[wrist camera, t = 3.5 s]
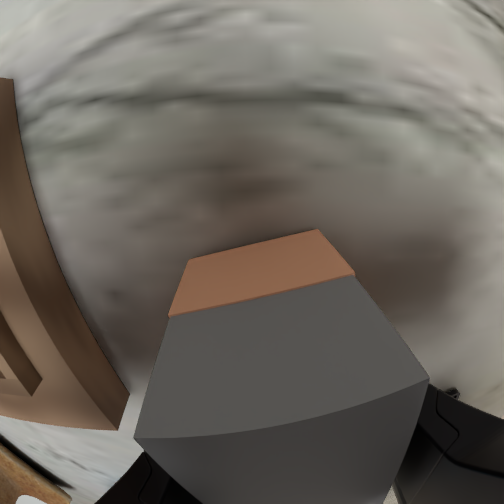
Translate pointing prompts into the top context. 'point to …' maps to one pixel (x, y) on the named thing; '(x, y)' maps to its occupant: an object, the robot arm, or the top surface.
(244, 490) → the block
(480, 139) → the top surface
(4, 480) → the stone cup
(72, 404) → the walnut cradle stand
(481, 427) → the robot arm
